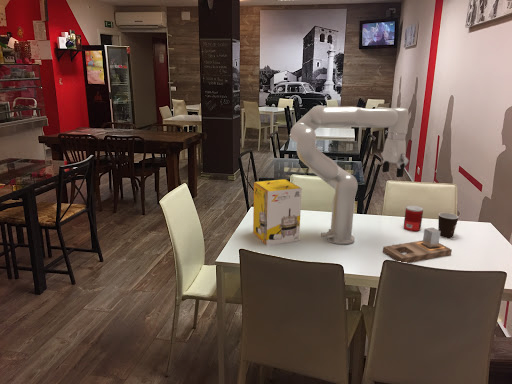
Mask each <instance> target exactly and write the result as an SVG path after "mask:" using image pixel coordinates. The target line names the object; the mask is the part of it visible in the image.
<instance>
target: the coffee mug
mask: <svg viewBox="0 0 512 384" xmlns="http://www.w3.org/2000/svg"><path fill="white" fill-rule="evenodd" d="M458 221H459V216H458V215H457V214H455V213H451V212H439V213H438V225H437V226H438V228H437V230H439V231H441V232H440V237H441V238H445V239H452V238H453V237H454V234H455V231H456V228H457V224H458Z"/></svg>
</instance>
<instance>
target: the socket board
mask: <svg viewBox="0 0 512 384" xmlns="http://www.w3.org/2000/svg"><path fill="white" fill-rule="evenodd" d="M422 244H423V239H422V240H415V241H411V242H406V243H405V242H404V243H399V244H393V245H386V246H382V247H383V248H382V249H383V250H382V253H384V254H385V255H386V256H388V255H389V256H388V257H390V258H392V259H393V260H394V261H396V260H397V261H396V262H398V261H401V262H407V263H406V264H409V263H416V262H420V261H424V260H431V259H436V258H437V259H438V258H442V257H447V256H452V250H453V249H452V248H451V247H448V246H446V245H444V244H442V243H440V242H439V245H438V248H435V249H429V248H427V247H425V246H423V245H422Z"/></svg>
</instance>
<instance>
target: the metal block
mask: <svg viewBox="0 0 512 384" xmlns="http://www.w3.org/2000/svg"><path fill="white" fill-rule="evenodd" d="M440 232H441V231H439V230H438V228H435V227H428V228H424V231H423V237H422V240H423V244H422V245H423V246H425V247H427V248H429V249H435V248H438V245H439V243H440V237H441V236H440Z"/></svg>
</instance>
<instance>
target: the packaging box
mask: <svg viewBox="0 0 512 384" xmlns="http://www.w3.org/2000/svg"><path fill="white" fill-rule="evenodd" d="M302 189H303V188H301V187H300V186H299V185H296V184H295V183H293V182H291V181H289V180H288V179H286V178H284V179H274V180H263V181H261V180H260V181H254V182H253V214H252V215H253V221H252V223H253V226H252V230H253V231H252V232H253V234H254V235H255V236H257V238H258V239H259V240H261V241H262V242H263V244H265V246H274V245H279V244H285V243H286V244H287V243H292V242H298V241H300V233H301V232H300V231H301V230H300V229H301V228H300V227H301V214H302V213H301V210H302V209H301V208H302V191H303V190H302Z"/></svg>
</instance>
